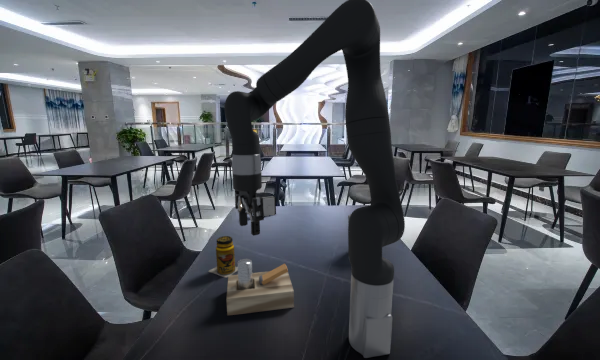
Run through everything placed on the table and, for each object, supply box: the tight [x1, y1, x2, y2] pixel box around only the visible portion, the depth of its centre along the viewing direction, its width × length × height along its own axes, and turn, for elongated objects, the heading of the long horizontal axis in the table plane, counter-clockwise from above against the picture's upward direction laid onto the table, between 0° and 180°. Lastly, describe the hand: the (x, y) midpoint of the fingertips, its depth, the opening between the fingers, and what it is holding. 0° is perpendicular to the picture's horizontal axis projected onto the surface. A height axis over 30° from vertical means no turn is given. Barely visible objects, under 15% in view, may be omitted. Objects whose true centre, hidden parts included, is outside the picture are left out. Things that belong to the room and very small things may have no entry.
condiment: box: [208, 235, 238, 279], centre depth 99 cm, size 7×8×12 cm
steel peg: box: [237, 258, 253, 290], centre depth 82 cm, size 4×4×12 cm
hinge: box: [259, 195, 277, 217], centre depth 158 cm, size 14×5×10 cm, turn 124°
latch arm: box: [259, 263, 289, 285], centre depth 84 cm, size 9×3×1 cm, turn 101°
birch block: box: [226, 270, 295, 317], centre depth 84 cm, size 12×18×5 cm, turn 101°
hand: (249, 229), depth 79 cm, fingers open, 8 cm apart
